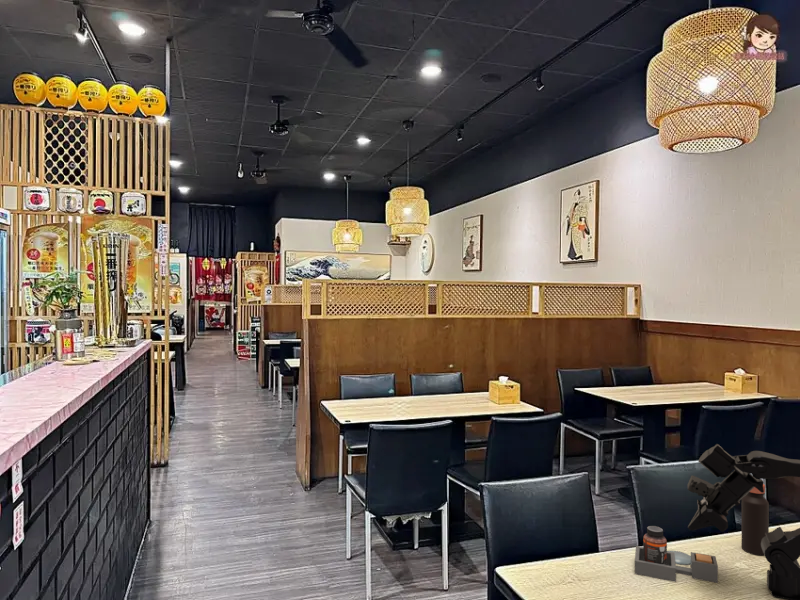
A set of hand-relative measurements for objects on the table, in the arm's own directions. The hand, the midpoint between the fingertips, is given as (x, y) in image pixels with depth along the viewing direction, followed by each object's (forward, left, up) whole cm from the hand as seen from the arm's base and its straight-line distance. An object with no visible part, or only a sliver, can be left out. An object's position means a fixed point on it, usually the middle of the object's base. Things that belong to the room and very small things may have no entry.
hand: (689, 528), depth 149 cm
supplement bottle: (+8, 0, -13) cm, 15 cm away
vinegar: (-19, -25, -13) cm, 34 cm away
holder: (+3, 0, -13) cm, 13 cm away
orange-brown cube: (-4, -2, -12) cm, 12 cm away
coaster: (+2, -10, -13) cm, 16 cm away
